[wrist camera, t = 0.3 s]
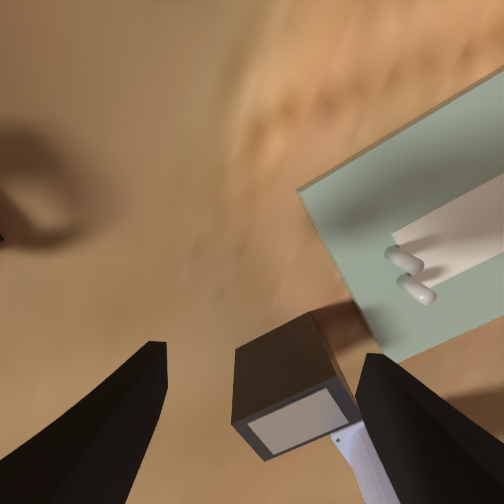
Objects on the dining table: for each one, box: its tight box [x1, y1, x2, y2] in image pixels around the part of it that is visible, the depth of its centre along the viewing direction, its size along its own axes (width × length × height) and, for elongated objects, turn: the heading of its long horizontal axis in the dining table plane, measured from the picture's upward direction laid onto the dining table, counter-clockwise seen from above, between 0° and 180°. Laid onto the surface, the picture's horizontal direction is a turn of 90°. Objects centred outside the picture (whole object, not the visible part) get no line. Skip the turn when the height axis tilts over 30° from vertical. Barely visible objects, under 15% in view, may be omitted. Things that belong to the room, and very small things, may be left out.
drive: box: [231, 312, 363, 462], centre depth 18 cm, size 4×7×7 cm, turn 121°
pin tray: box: [296, 66, 504, 363], centre depth 16 cm, size 16×16×4 cm
